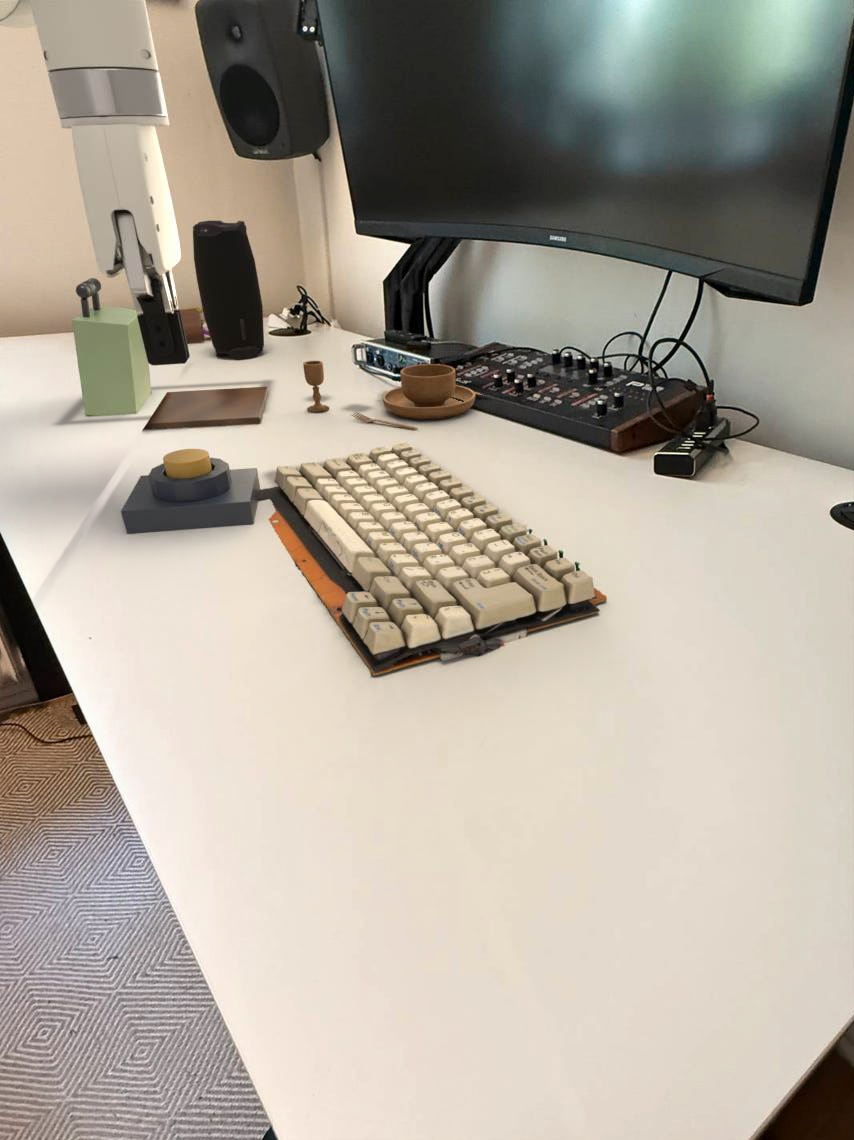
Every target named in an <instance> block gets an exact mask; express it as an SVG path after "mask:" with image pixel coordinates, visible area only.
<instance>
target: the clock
mask: <svg viewBox="0 0 854 1140" xmlns="http://www.w3.org/2000/svg"><path fill="white" fill-rule="evenodd" d="M101 290H102V283H101V282H100V281H99V280H98V278H96V277H90V278H88V279H86V280H85V281H82V282H81V283H79V284H77V285H76V287H75V293H76V295H77V296H78V297H79V298H80V305H81V313H80V314H79V315H78V316H76V317H74V318H73V319H72V320H71V323H72V329H73V338H74V345H75V351H76V352H75V353H76V359H77V360H76V361H77V368H78V374H79V381H80V389H81V395H82V402H83V410H84V415H85V416H92V417H93V416H95V417H105V416H106V417H107V416H124V415H137V414H138V413H139V411H140V410H141V409H142V407H143V406H144V405H145V403H146V402H147V400H148V399H149V397H150V396H151V395H152V383H151V374H150V372H151V371H150V364H149V363H148V360H147V356H146V352H145V347H144V343H143V339H142V335H141V331H140V327H139V322H138V318H137V312H136V309H135V308H123V307H113V306H102V305H101V303H100V295H99V292H100V291H101ZM89 298H91V303H92V306H91V307H90V303H89Z"/></svg>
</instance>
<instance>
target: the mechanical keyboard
mask: <svg viewBox="0 0 854 1140" xmlns="http://www.w3.org/2000/svg"><path fill="white" fill-rule="evenodd" d="M431 461H432V460H431V459H429V458H428V456H425V455H422V452H420V451H419V450H418V449H414V448H413V446H412V445H410V444H409V443H407V442H403V443H398V444H394V445H393V446H392V447H391V449H389V448H388V447H387V446H379V447H373V448H371V449H370V451H369V454H368V456H367V455H366V454H365V453H363V452H360V453H359V452H358V453H352V454H349V455H348V456H347V457H346V460H345V461H344V460H343V458H340V457H338V458H328V459H325V460H324V462H323V465H321V464H320V463H319V462H315V461H313V462H312V461H311V462H301V463H300V467H299V470H298V469H297V468H296V467H295V466H292V465H291V466H287V465H278V466H276V471H275V477H274V480H273V481H274V483H275V484H277V486H274V487H269V488H263V489H262V488H261V489H260V493H259V497H258V502H262V501H267V500H268V501H270V502H271V503H272V506H273V508H274V511H275V512H274V513H273V514H271V515H270V517H269V518H268V521H269V524H270V525H271V526H272V528H273V530H274V533H276V535H277V537H278V539H279V540H280V543H281V544H282V546H283V547H284V549H285V550H286V551H287V553H288V554H289V556H290V557H291V559H292V560H293V562H294V566H295V567H296V568H297V570H298V571H300V572H301V574H302V576H304V578H305V580H306V581H307V583H308V585H309V586H310V587H311V588H312V590H314V592H315V593H316V595H317V597H318V598H319V599H320V601H321V602H322V604H324V606H325V607H326V608H327V610H328V611H329V613H330V614H331V616H332V618H333V619H334V621H335V622H336V623H337V624H338V626H339V627H340V628H341V629H342V631H343V634H344V635H345V638H346V639H349V641H350V644H351V645H352V647H354V648H355V650H356V651H357V653H358V654H359V656H361V658H362V660H363V661H364V663H365V665H366V666H367V667H368V668H369V670H370V672H369V674H370V675H371V676H379V675H383V674H386V673H390V672H392V671H396V670H398V669H401V668H402V669H403V668H405V667H409V666H412V665H417V664H420V663H423V662H427V661H430V660H434V659H437V658H439V660H440V661H441V662H442V661H446V660H451V659H454V658H458V657H461V656H465V655H468V654H474V655H475V656H476V657H480V656H481V655H483V653H484V652H485V650H486V649H490V650H499V649H500V648H501V647H500V646H505V644H507V643H510V642H513V641H517V640H520V639H524V638H526V636H527V634H528V633H529V632H533V631H537V630H539V629H545V628H548V627H551V626H555V625H559V624H563V623H565V622H571V621H573V620H576V619H580V618H585V617H587V616H591V615H595V614H598V613H600V611H601V609H599V607H597V606H596V605H597V604H600V603H603V602H605V601H607V599H608V598H607V595H606V594H603V593H602V592H601V591H600V590H599V589H597V588H595V587H594V581H593V580H594V579H593V576H591V575H589V574H587V573H586V572H585V571H584V570H581V568H580V567H579V566H580V564H581V563H579V562H578V561H574V563H573V562H571V561H569V560H568V559H567V558H566V557H564V551H563V550H558V551H557V550H555V549H554V548H553V547H552V546H550V545H548V540H547V539H546V538H544V539H543V540H541V538H538V537H537V535H535V534H533V533H532V532H533V531H534V530H533V529H531V528H528V530H527V528H526V527H524V526H523V525H522V524H520V523H513V518H512V517H511V516H510V515H508V514H506V513H503V512H501V513H499V508H498V507H497V506H496V505H495V504H493V503H487V502H486V499H485V498H484V497H482V496H481V495H480V494H475V492H474V491H475V490H473V489H471V488H470V487H469V486H467V485H464V486H463V482H462V481H460V480H459V479H458V478H456V477H453V476H452V474H451V473H450V472H448V471H447V470H442V468H441V467H440V466H439V465H437V463H434V462H433V463H431ZM275 521H276V522H275ZM542 541H543V545H542Z"/></svg>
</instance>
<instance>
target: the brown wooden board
mask: <svg viewBox="0 0 854 1140" xmlns="http://www.w3.org/2000/svg"><path fill="white" fill-rule="evenodd" d="M268 394H269V388H268V386H256V387H255V386H254V387H235V388H234V387H233V388H217V389H216V388H215V389H200V390H199V389H197V390H179V391H166V393H165V394H164V396H163V398H162V399H161V401H160V402H159V404H158V405H157V407H156V408H155V410H154V411H153V413H152V415H150V417H149V419H148V420H147V422H146V423H145V426H144V427H143V429H142V431H151V430H153V429H155V430H168V429H167V428H171V429H184V428H183V427H188V428H203V427H219V426H235V425H252V424H254V425H255V424H261V423H262V419H263V415H264V411H265V406H266V402H267V399H268ZM153 431H154V430H153Z"/></svg>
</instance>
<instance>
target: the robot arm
mask: <svg viewBox="0 0 854 1140" xmlns="http://www.w3.org/2000/svg"><path fill="white" fill-rule="evenodd" d="M148 13H149V12H148V8H147V3H146V0H0V27H6V28H11V29H28V28H36V32H37V36H38V39H39V44H40V47H41V52H42V55H43V60H44V62H45V67H46V71H47V73H48V79H49V83H50V87H51V90H52V94H53V98H54V102H55V103H54V104H55V106H56V110H57V115H58V118H59V121H60V127H61V129H67V130H68V129H70V130H71V136H72V145H73V151H74V157H75V164H76V169H77V177H78V180H79V184H80V190H81V196H82V200H83V205H84V209H85V214H86V219H87V224H88V228H89V233H90V237H91V243H92V247H93V252H94V256H95V261H96V264H97V269H98V270H99V272H100V273H101V275H103V276H104V277H106V278H108V279H109V278H110V279H111V278H115V277H118V276H119V275H121V274H122V273H124V272H125V276H126V279H127V283H128V286H129V290H130V294H131V298H132V301H133V305H134V309H136V312H137V318H138V322H139V327H140V331H141V335H142V339H143V343H144V347H145V352H146V356H147V360H148V363H149V366H150V365H151V366H167V365H169V366H170V365H183V364H186V363H187V362H188V360H189V359H190V355H191V354H190V350H189V344H188V341H187V340H186V335H185V330H184V325H183V321H182V316H181V311H180V310H181V309H179V302H178V297H177V291H176V286H175V281H174V276H173V268H174V267H175V266H176V265H177V264H178V263H179V262H180V261H181V258H182V253H181V243H180V237H179V233H178V232H179V231H178V226H177V219H176V215H175V210H174V205H173V201H172V195H171V192H170V191H171V190H170V187H169V182H168V177H167V173H166V169H165V164H164V161H163V159H164V157H163V155H162V151H161V147H160V143H159V142H160V141H159V139H158V135H157V130H156V128H162V127H169V126H170V125H171V124H170V119H169V117H168V116H169V115H168V111H167V105H166V100H165V94H164V89H163V84H162V80H161V75H160V71H159V65H158V61H157V55H156V49H155V45H154V39H153V35H152V29H151V24H150V19H149V14H148Z"/></svg>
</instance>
